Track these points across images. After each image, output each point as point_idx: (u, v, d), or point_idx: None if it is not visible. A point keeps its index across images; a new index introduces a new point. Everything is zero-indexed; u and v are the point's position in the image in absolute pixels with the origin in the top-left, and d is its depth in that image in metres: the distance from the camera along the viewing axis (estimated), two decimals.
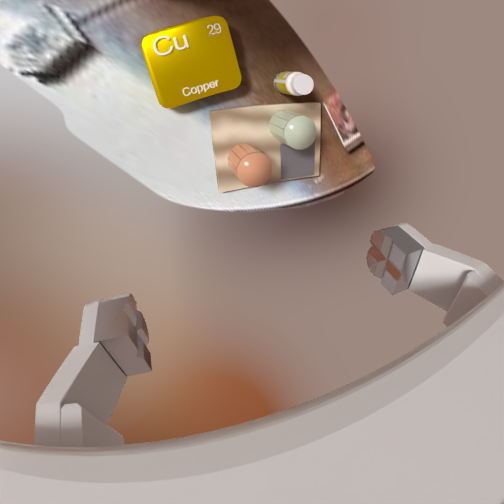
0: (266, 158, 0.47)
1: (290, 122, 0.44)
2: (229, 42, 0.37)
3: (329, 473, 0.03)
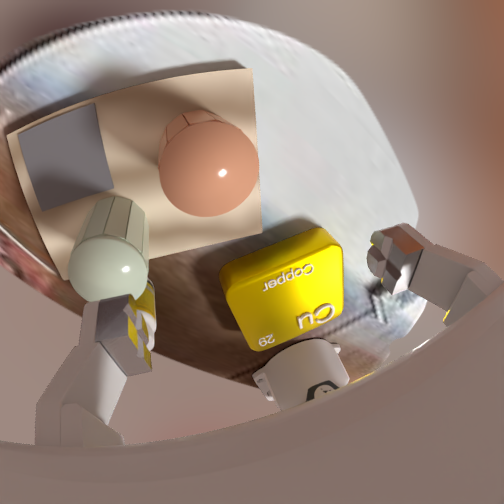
0: (181, 206, 0.18)
1: (140, 291, 0.20)
2: (247, 332, 0.35)
3: (329, 474, 0.03)
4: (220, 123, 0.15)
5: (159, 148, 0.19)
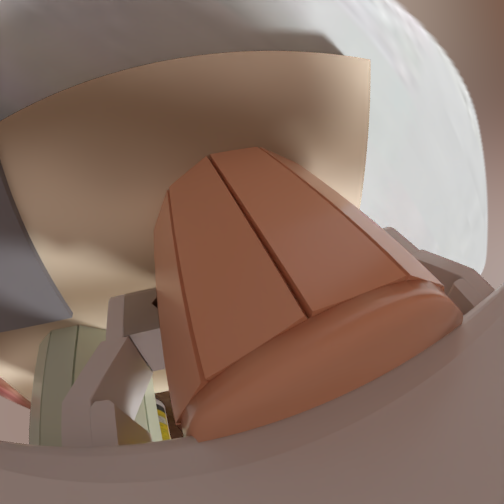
0: None
1: None
2: None
3: (329, 474, 0.03)
4: (434, 307, 0.03)
5: (157, 272, 0.07)
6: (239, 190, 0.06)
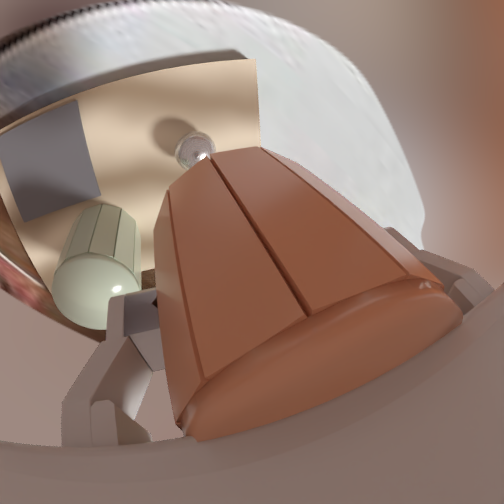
0: None
1: None
2: None
3: (329, 474, 0.03)
4: (434, 306, 0.03)
5: (157, 272, 0.07)
6: (239, 189, 0.06)
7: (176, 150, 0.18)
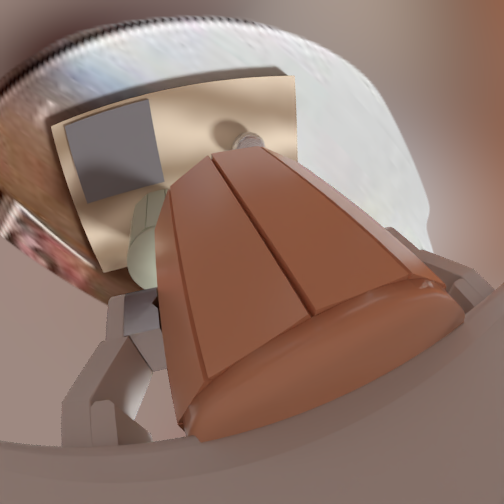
0: None
1: None
2: None
3: (329, 474, 0.03)
4: (436, 306, 0.03)
5: (158, 272, 0.07)
6: (241, 189, 0.06)
7: (234, 146, 0.23)
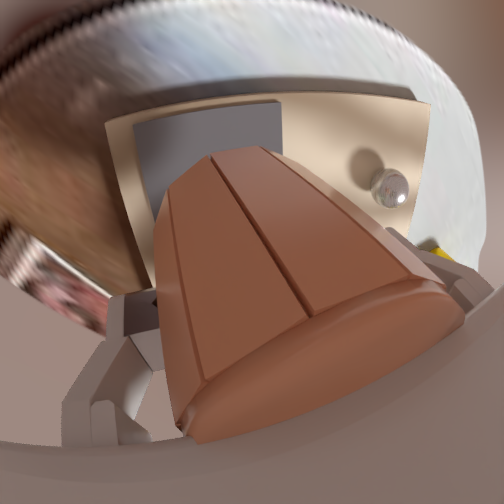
0: None
1: None
2: None
3: (329, 474, 0.03)
4: (436, 307, 0.03)
5: (156, 272, 0.07)
6: (239, 189, 0.06)
7: (380, 186, 0.17)
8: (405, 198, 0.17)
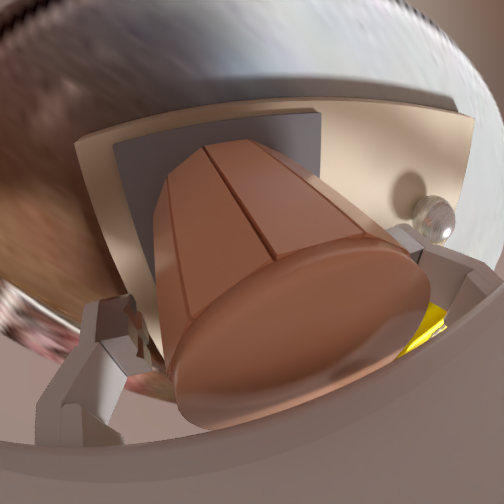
0: None
1: None
2: None
3: (328, 474, 0.03)
4: (389, 259, 0.04)
5: (155, 248, 0.08)
6: (227, 172, 0.07)
7: (427, 219, 0.13)
8: (451, 232, 0.13)
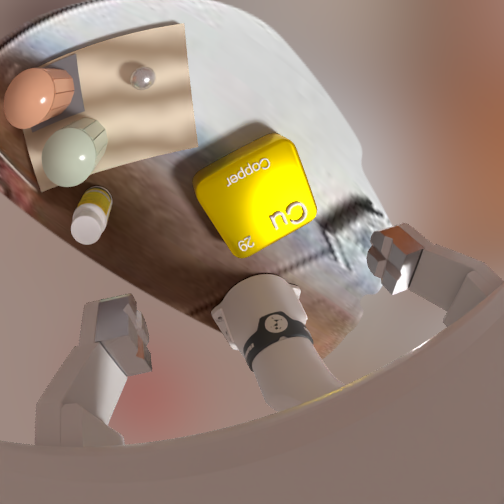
0: (14, 123, 0.17)
1: (89, 170, 0.24)
2: (224, 234, 0.40)
3: (329, 474, 0.03)
4: (31, 68, 0.15)
5: None
6: None
7: None
8: (144, 78, 0.24)
